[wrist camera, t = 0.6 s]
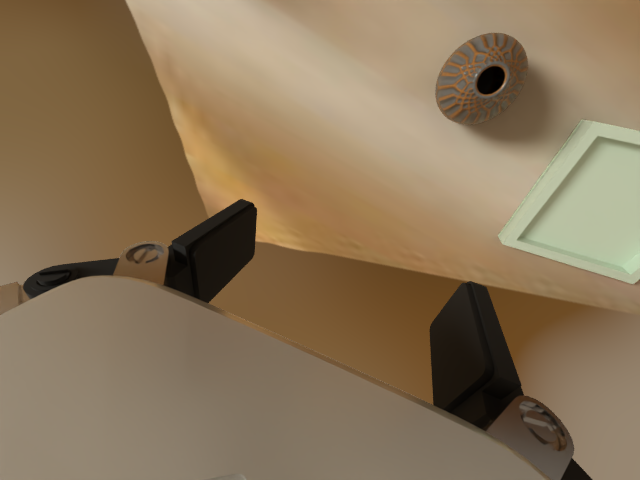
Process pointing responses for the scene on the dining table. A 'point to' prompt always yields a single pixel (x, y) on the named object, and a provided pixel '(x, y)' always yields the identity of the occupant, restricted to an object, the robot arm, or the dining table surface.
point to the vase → (481, 78)
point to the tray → (586, 204)
